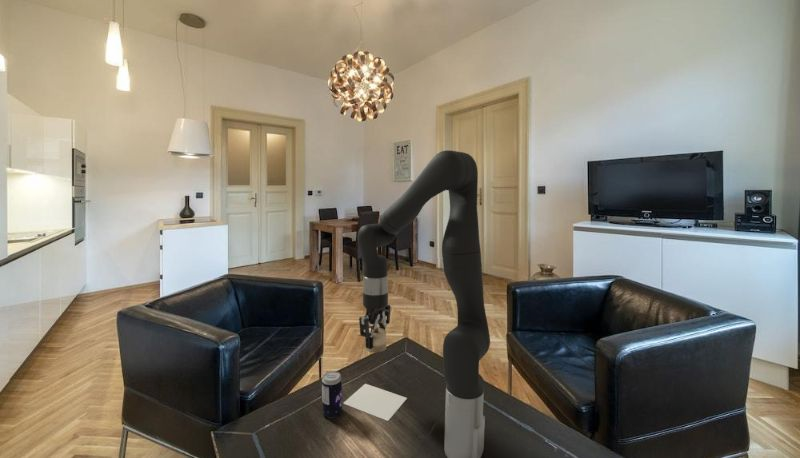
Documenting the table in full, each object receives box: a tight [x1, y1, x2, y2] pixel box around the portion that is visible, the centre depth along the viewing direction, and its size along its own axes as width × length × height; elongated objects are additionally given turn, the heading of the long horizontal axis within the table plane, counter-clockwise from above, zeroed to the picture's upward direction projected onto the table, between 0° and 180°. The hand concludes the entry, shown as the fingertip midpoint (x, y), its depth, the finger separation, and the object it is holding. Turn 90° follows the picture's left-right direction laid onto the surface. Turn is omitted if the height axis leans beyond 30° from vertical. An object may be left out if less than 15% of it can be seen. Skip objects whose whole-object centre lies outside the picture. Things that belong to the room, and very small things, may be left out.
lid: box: [364, 326, 387, 353], centre depth 102 cm, size 6×6×6 cm
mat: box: [342, 383, 408, 422], centre depth 104 cm, size 16×12×1 cm
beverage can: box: [321, 371, 343, 419], centre depth 98 cm, size 6×6×12 cm
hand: (375, 343), depth 102 cm, fingers closed on lid, 6 cm apart
